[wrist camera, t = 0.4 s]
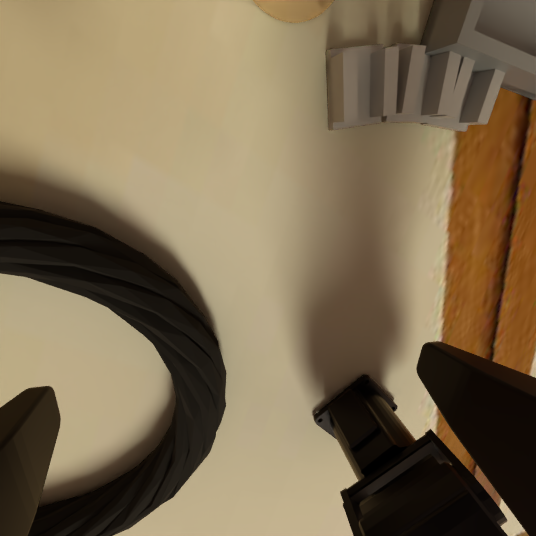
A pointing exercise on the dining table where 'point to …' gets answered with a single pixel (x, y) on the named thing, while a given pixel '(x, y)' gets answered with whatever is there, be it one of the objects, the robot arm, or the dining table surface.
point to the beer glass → (293, 9)
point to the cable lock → (154, 329)
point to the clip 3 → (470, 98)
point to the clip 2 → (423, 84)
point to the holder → (488, 37)
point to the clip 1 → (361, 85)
